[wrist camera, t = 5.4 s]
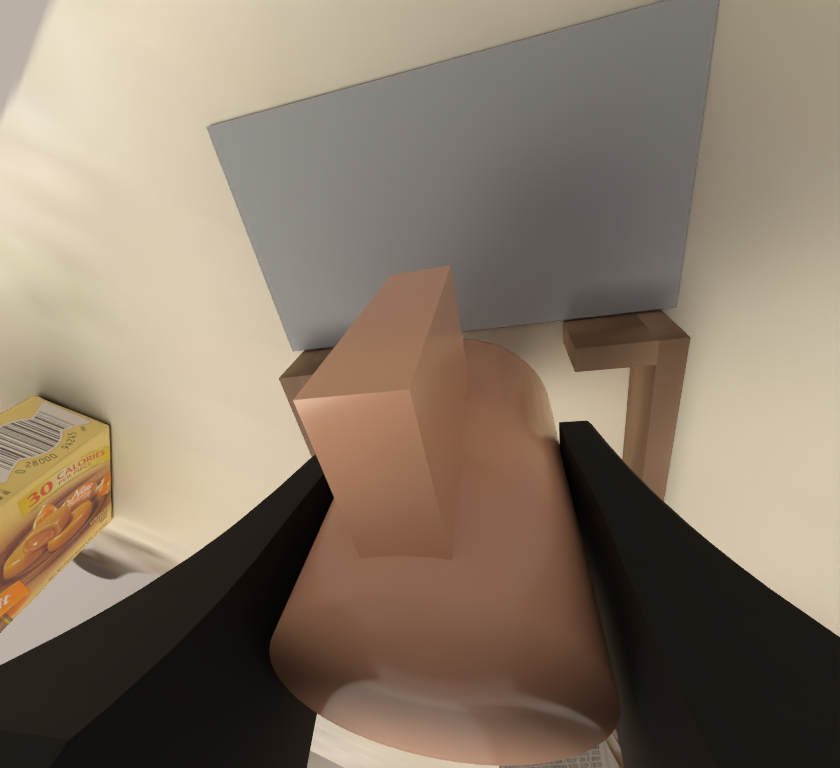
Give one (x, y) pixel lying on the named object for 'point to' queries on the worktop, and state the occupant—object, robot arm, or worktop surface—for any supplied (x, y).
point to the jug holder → (596, 350)
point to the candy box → (48, 495)
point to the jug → (443, 549)
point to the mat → (486, 177)
